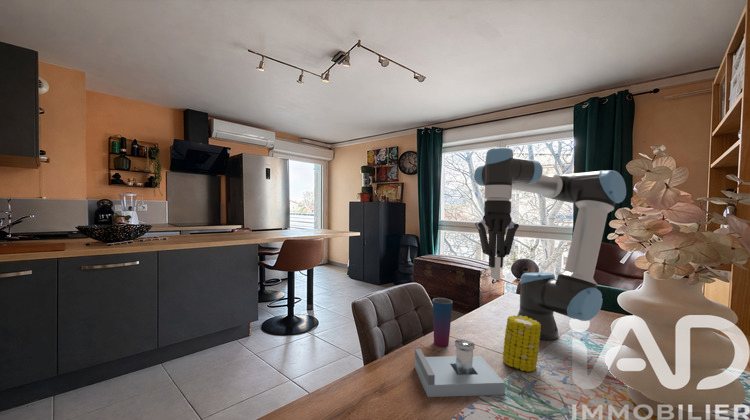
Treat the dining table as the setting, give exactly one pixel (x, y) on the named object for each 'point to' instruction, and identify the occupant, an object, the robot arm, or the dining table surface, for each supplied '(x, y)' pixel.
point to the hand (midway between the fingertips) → (495, 278)
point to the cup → (441, 321)
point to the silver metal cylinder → (464, 356)
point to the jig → (456, 377)
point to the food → (521, 343)
